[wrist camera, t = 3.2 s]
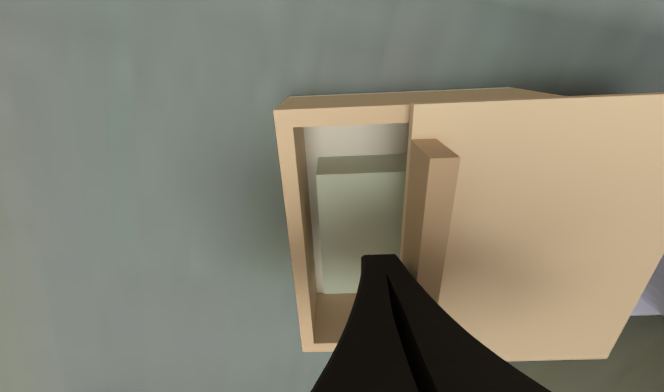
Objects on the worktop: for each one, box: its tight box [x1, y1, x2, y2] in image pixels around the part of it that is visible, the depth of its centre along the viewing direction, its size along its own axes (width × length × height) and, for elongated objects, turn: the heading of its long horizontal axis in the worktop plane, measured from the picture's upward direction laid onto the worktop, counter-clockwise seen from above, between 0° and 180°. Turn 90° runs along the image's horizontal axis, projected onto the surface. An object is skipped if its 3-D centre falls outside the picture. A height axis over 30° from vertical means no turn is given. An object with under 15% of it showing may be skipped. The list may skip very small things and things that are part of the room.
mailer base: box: [273, 87, 562, 352], centre depth 14 cm, size 10×12×4 cm
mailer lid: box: [400, 92, 664, 361], centre depth 11 cm, size 10×12×2 cm
